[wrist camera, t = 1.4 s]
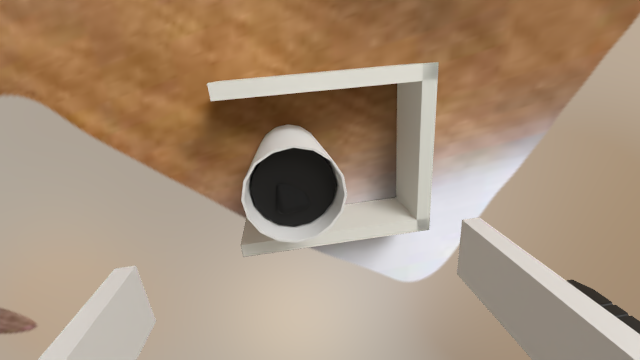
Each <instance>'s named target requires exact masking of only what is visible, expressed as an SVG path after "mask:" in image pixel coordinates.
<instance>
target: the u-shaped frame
mask: <svg viewBox="0 0 640 360" xmlns="http://www.w3.org/2000/svg"><path fill="white" fill-rule="evenodd" d="M438 64H439V62H437V63H417V64H403V65H392V66H380V67H369V68H358V69H347V70H336V71H325V72H313V73H302V74H291V75H280V76H269V77H258V78H247V79H235V80H224V81H217V82H211V83H207V85H208V90H209V95H210V100H211V101H218V100H229V99H239V98H250V97H260V96H270V95H281V94H291V93H302V92H312V91H323V90H333V89H344V88H354V87H364V86H375V85H385V84H396V83H397V155H396V198H389V199H381V200H374V201H367V202H359V203H352V204H345V206H344V210H343V213H342V214H341V216H340V217H339V218H338V220H337V221H336V223H335V224H334V225H333V227H332V228H330V229H329V230H327V231H326V232H324V233H323V234H321V235H320V236H318V237H317V238H314V239H310V240H307V241H303V242H299V243H293V242H282V241H277V240H275V239H272V238H270V237H268V236H266V235H264V234H262V233H260V232H259V231H258V230H257V229H256V227H255V226H254V225H253V224H252V223H251V222H250V221H249V220H248V219H247V218H246V222H245V228H244V232H243V237H242V242H241V249H242V253H243V257H247V256H253V255H260V254H267V253H273V252H280V251H288V250H294V249H301V248H308V247H315V246H322V245H329V244H335V243H342V242H349V241H356V240H363V239H370V238H376V237H383V236H390V235H397V234H404V233H410V232H417V231H424V230H429V222H430V204H431V187H432V169H433V152H434V134H435V116H436V99H437V81H438Z"/></svg>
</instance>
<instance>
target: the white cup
mask: <svg viewBox="0 0 640 360" xmlns="http://www.w3.org/2000/svg"><path fill="white" fill-rule="evenodd" d="M346 197H347V190H346V185H345V180H344V175H343V174H342V172H341V171H340V170H339V168H338V167H337V165H336V164H335V162H334V161H333V160H332V158H331V157H330V156H329V155H328V154H327V152H326V151H325V150H324V149H323V147H322V146H321V145H320V144H319V143H318V141H317V140H316V139H315V138H314V137H313V135H312V134H311V133H310V132H308V131H307V130H305V129H304V128H302V127H300V126H295V125H289V124H287V125H283V126H279V127H275V128H274V129H273V130H271V131H270V132H269V133H267V134H266V135H265V137H264V138H263V140H262V142H261V143H260V145H259V148H258V150H257V152H256V154H255V157H254V159H253V161H252V163H251V165H250V168H249V170H248V172H247V174H246V176H245V179H244V181H243V190H242V199H241V201H242V204H243V207H244V210H245V213H246V216H247V219H248V220H249V221H250V222H251V223H252V224H253V225H254V226H255V227H256V229H257V230H258V231H259V232H260V233H262V234H264V235H266V236H268V237H270V238H272V239H275V240H277V241H282V242H293V243H299V242H303V241H307V240H310V239H314V238H317V237H318V236H320V235H321V234H323V233H324V232H326V231H327V230H329V229H330V228H332V227H333V225H334V224H335V223H336V221H337V220H338V218H339V217H340V216H341V214H342V213H343V210H344V206H345V201H346Z"/></svg>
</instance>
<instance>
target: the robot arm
mask: <svg viewBox="0 0 640 360" xmlns="http://www.w3.org/2000/svg"><path fill="white" fill-rule="evenodd" d="M458 259H459V260H458V269H457V274H458V275H459V277H460V278H461V279H462V280H463V281H464V282H465V284H466V285H467V286H468V287H469V288H470V289H471V290H472V292H473V293H474V294H475V295H476V296H477V297H478V298H479V300H480V301H481V302H482V303H483V304H484V305H485V306H486V308H487V309H488V310H489V311H490V312H491V313H492V314H493V315H494V317H495V318H496V319H497V320H498V321H499V322H500V323H501V325H502V326H503V327H504V328H505V329H506V330H507V331H508V333H509V334H510V335H511V336H512V337H513V338H514V339H515V340H516V342H517V343H518V344H519V345H520V346H521V347H522V349H523V350H524V351H525V352H526V353H527V354H528V355H529V357H530V358H531V359H532V360H640V321H638V320H637V319H635V318H634V317H633V316H629V315H628V313H627V312H625V311H624V310H622V309H621V308H619V307H618V306H617V305H613V304H612V302H611V301H609V300H608V299H606V298H605V297H604V296H602V295H601V294H599V293H598V292H596V291H595V290H593V289H591V288H589V287H587V286H585V285H582V284H580V283H578V282H576V281H574V280H567V281H566V280H564V279H563V278H562V277H560V276H559V275H558V274H556V273H555V272H554V271H552V270H551V269H549V268H548V267H546V266H545V265H544V264H543V263H541V262H540V261H538V260H537V259H535V258H534V257H533V256H532V255H530V254H529V253H527V252H526V251H525V250H523V249H522V248H521V247H519V246H518V245H516V244H515V243H514V242H512V241H511V240H510V239H508V238H507V237H505V236H504V235H503V234H501V233H500V232H499V231H497V230H496V229H494V228H493V227H492V226H490V225H489V224H488V223H486V222H484V221H483V220H482V219H481V218H472V219H465V220H462V227H461V238H460V248H459V258H458ZM155 322H156V319H155V317H154V314H153V311H152V308H151V306H150V303H149V300H148V297H147V295H146V292H145V289H144V286H143V284H142V281H141V278H140V275H139V272H138V270H137V267H136V266H130V267H123V268H116V269H114V270H113V271H112V273H111V274H110V275H109V276H108V277H107V279H106V280H105V281H104V282H103V283H102V284H101V286H100V287H99V288H98V289H97V290H96V292H95V293H94V294H93V295H92V296H91V298H90V299H89V300H88V301H87V302H86V303H85V305H84V306H83V307H82V308H81V310H80V311H79V312H78V313H77V314H76V315H75V317H74V318H73V319H72V320H71V321H70V323H69V324H68V325H67V326H66V327H65V328H64V329H63V331H62V332H61V333H60V334H59V335H58V337H57V338H56V339H55V340H54V342H52V344H51V345H50V346H49V347H48V348H47V350H46V351H45V352H44V353H43V354H42V355H41V357H40V358H39V359H38V360H137V358H138V356H139V354H140V352H141V350H142V348H143V346H144V344H145V342H146V340H147V338H148V336H149V334H150V332H151V330H152V328H153V326H154V324H155Z"/></svg>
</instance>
